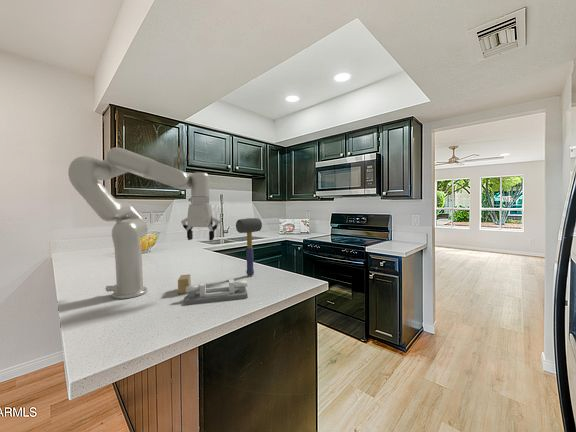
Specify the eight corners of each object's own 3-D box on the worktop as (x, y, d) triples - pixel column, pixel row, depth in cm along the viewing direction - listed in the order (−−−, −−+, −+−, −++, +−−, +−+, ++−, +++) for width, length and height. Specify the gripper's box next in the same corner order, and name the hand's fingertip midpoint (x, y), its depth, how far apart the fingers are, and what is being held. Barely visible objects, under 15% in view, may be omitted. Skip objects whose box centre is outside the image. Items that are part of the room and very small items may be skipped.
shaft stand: (184, 304, 95) (184, 289, 95) (188, 295, 105) (187, 281, 105) (248, 297, 101) (248, 283, 101) (246, 289, 111) (245, 276, 111)
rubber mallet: (243, 279, 126) (242, 219, 125) (236, 276, 132) (234, 218, 131) (264, 274, 134) (262, 217, 133) (256, 272, 140) (254, 217, 139)
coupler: (188, 293, 108) (188, 279, 107) (178, 294, 107) (177, 280, 106) (190, 287, 115) (190, 274, 115) (181, 288, 114) (180, 275, 114)
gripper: (177, 200, 109) (177, 240, 110) (216, 200, 108) (216, 241, 108) (185, 201, 117) (186, 238, 117) (222, 201, 115) (222, 239, 116)
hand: (200, 239), depth 113 cm, fingers open, 9 cm apart
